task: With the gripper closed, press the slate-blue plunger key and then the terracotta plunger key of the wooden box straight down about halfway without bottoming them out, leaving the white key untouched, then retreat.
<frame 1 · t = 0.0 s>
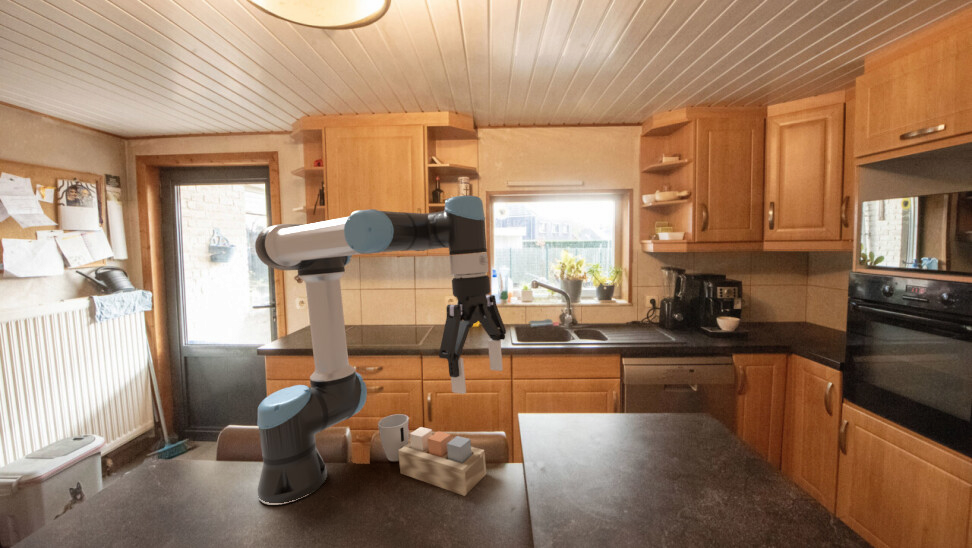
hand: (479, 380, 75), 28 cm above the table, fingers open, 13 cm apart
key blue: (459, 453, 88), point 6 cm above the table, slide at 0.0 cm
key terracotta: (440, 448, 92), point 6 cm above the table, slide at 0.0 cm
wooden box: (442, 473, 92), on the table
cup: (397, 456, 102), on the table
key white: (422, 443, 95), point 6 cm above the table, slide at 0.0 cm
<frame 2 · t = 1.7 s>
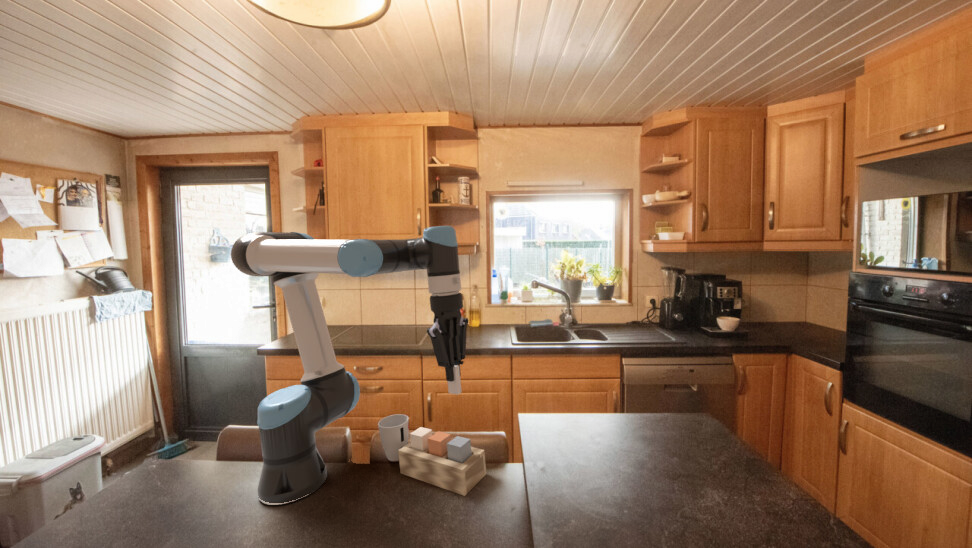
hand: (455, 392, 88), 21 cm above the table, fingers closed
nothing on the table moved.
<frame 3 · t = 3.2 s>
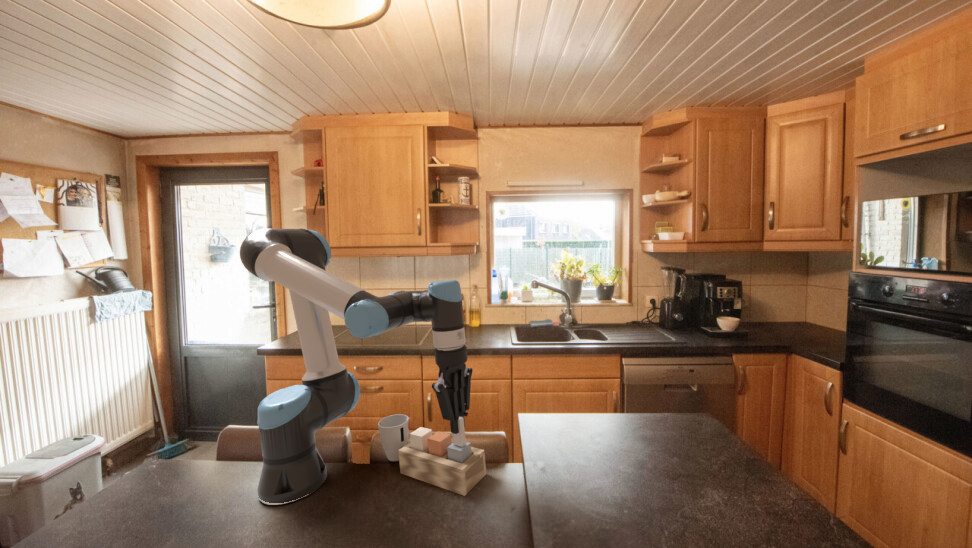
hand: (459, 444, 88), 9 cm above the table, fingers closed
key blue: (460, 457, 88), point 6 cm above the table, slide at 0.9 cm, touching gripper
everything else where it was.
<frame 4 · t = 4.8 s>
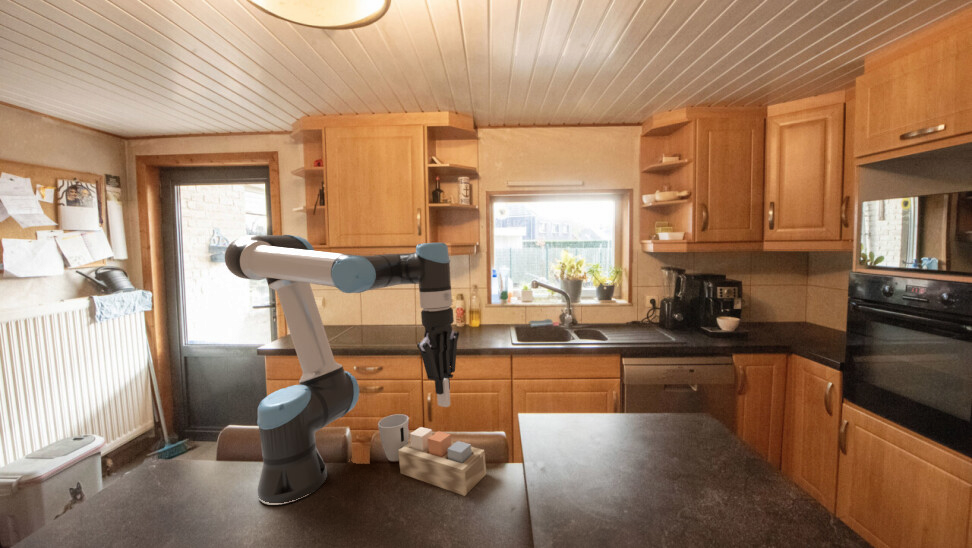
hand: (444, 405, 90), 18 cm above the table, fingers closed
key blue: (460, 458, 89), point 5 cm above the table, slide at 1.3 cm
everything else where it was.
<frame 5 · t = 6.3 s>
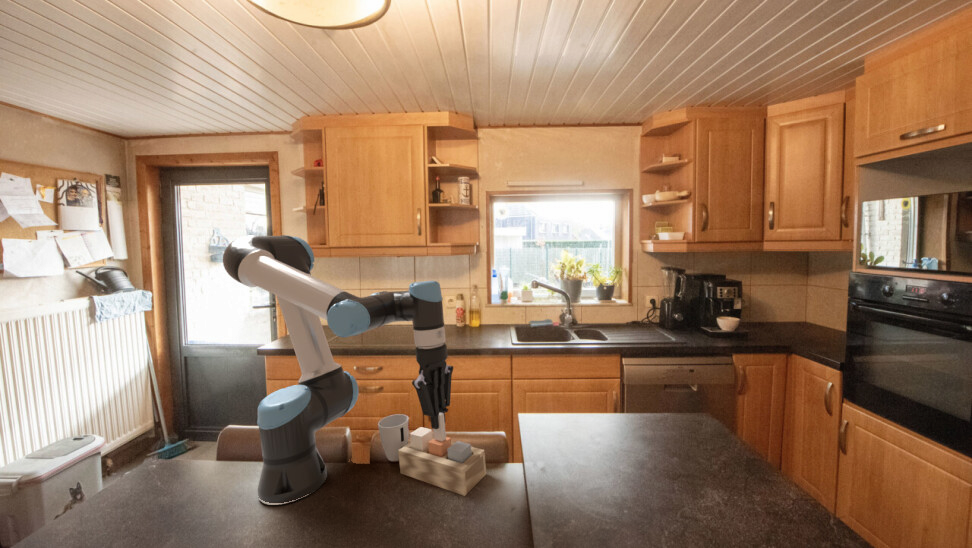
hand: (440, 439, 91), 9 cm above the table, fingers closed
key terracotta: (440, 451, 92), point 6 cm above the table, slide at 0.9 cm, touching gripper
everything else where it was.
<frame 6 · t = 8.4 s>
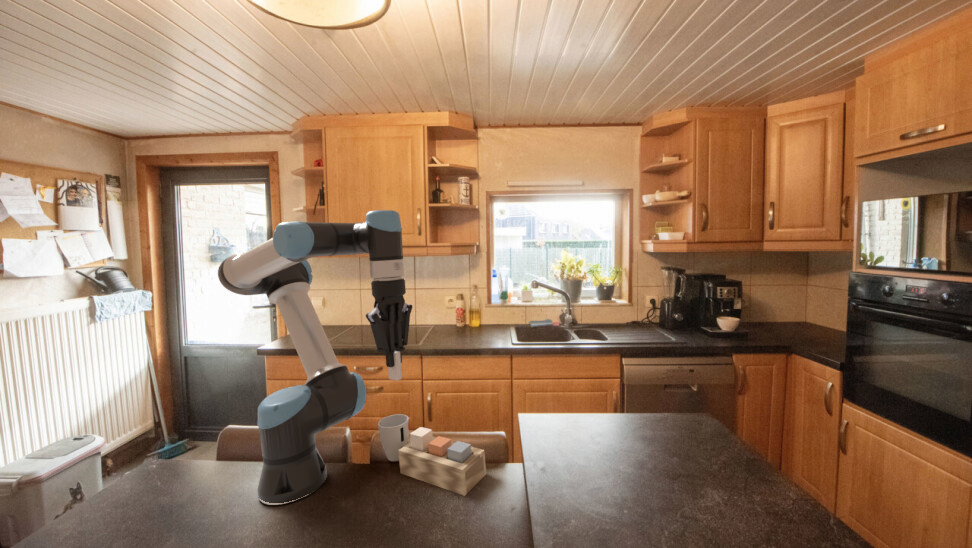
hand: (395, 378, 87), 26 cm above the table, fingers closed
key terracotta: (440, 453, 92), point 5 cm above the table, slide at 1.3 cm
everything else where it was.
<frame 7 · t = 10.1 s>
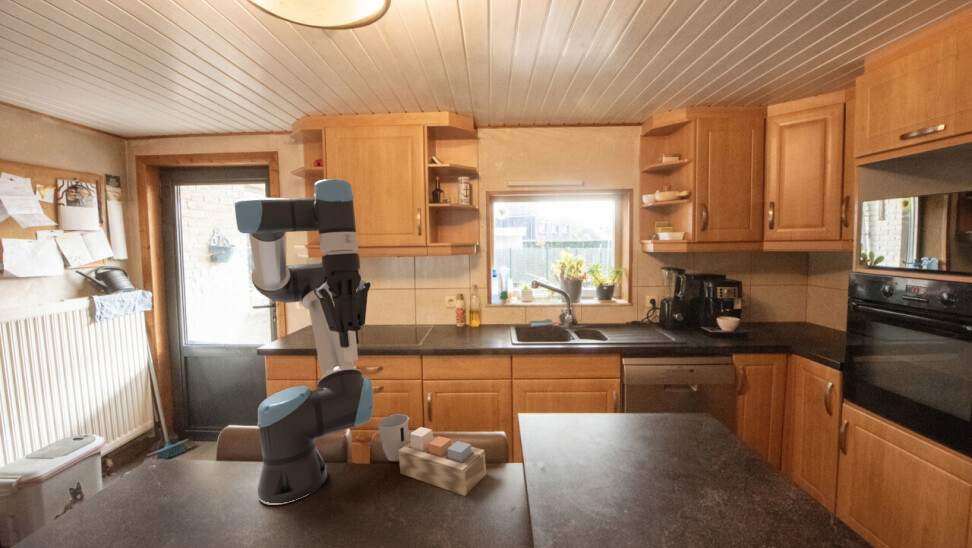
hand: (351, 360, 82), 32 cm above the table, fingers closed
nothing on the table moved.
at the end: key blue slide at 1.3 cm; key terracotta slide at 1.3 cm; key white slide at 0.0 cm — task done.
